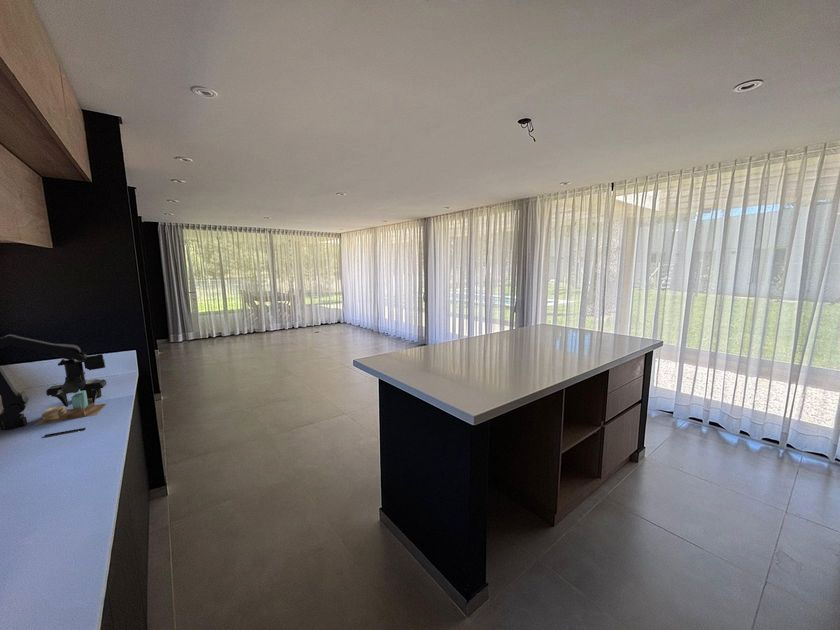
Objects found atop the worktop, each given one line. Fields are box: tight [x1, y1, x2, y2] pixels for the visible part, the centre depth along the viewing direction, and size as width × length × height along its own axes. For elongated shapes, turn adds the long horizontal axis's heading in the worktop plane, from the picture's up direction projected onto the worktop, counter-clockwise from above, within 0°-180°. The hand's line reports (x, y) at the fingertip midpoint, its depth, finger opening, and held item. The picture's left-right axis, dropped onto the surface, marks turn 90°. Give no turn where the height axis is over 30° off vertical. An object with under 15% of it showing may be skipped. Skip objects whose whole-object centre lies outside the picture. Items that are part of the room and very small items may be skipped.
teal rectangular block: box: [70, 390, 88, 409], centre depth 154 cm, size 2×8×9 cm, turn 28°
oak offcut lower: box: [42, 408, 66, 421], centre depth 150 cm, size 5×7×2 cm
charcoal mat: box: [42, 427, 86, 439], centre depth 143 cm, size 12×11×1 cm
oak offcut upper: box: [41, 405, 66, 418], centre depth 150 cm, size 5×7×2 cm
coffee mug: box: [79, 378, 102, 400], centre depth 169 cm, size 12×9×10 cm
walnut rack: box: [34, 398, 108, 426], centre depth 153 cm, size 20×14×6 cm
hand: (80, 404), depth 154 cm, fingers open, 9 cm apart
